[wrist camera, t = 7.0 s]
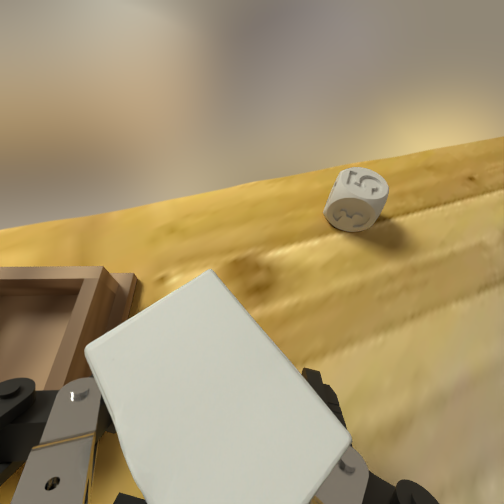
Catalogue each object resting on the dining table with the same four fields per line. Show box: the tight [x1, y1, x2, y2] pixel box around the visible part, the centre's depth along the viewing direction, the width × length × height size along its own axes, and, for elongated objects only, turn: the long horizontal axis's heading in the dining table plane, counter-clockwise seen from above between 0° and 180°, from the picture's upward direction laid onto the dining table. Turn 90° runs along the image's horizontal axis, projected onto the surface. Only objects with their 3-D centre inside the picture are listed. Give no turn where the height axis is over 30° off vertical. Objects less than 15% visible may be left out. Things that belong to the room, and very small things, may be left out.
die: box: [323, 167, 389, 232], centre depth 26 cm, size 5×5×5 cm
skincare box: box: [84, 269, 352, 504], centre depth 11 cm, size 6×4×12 cm
